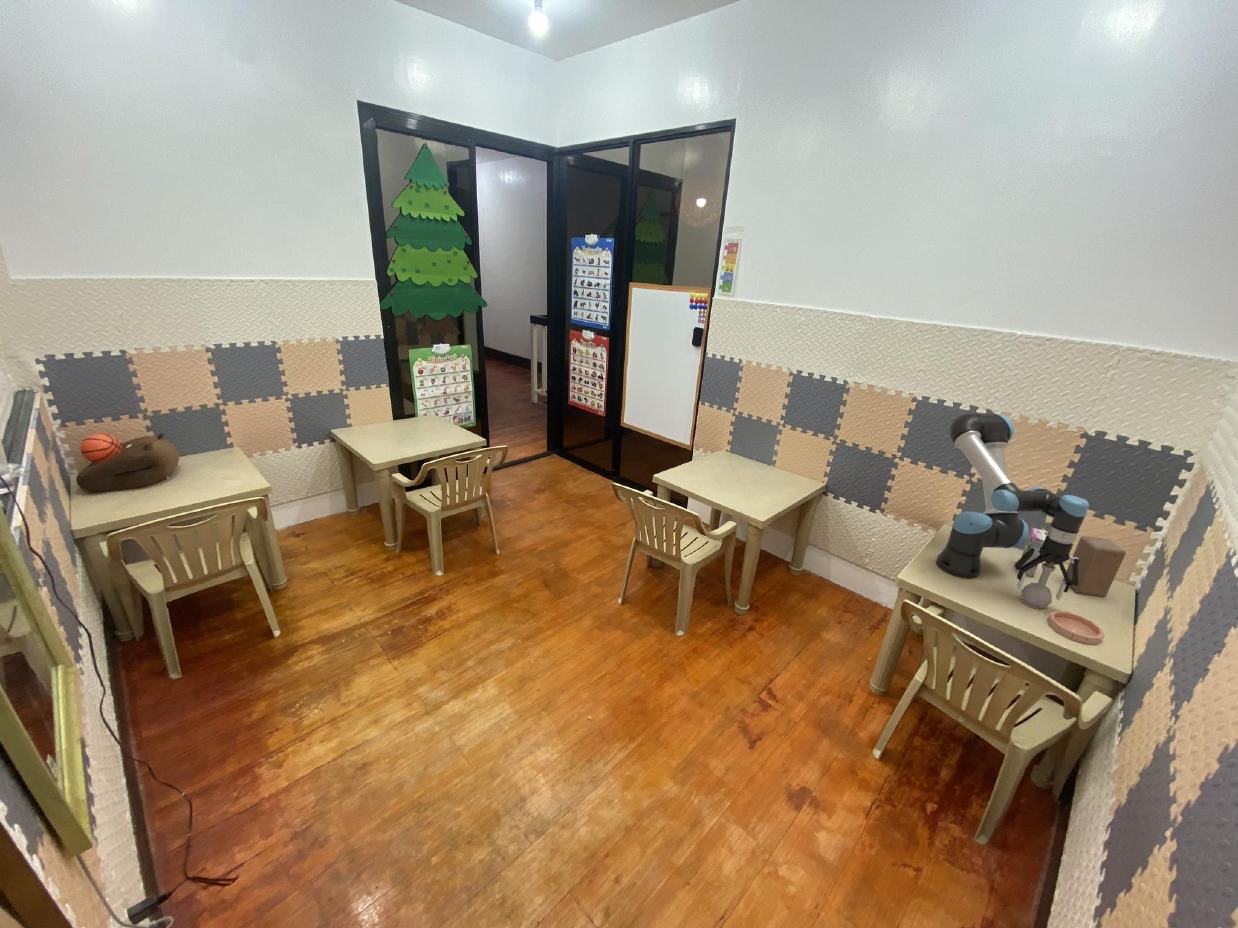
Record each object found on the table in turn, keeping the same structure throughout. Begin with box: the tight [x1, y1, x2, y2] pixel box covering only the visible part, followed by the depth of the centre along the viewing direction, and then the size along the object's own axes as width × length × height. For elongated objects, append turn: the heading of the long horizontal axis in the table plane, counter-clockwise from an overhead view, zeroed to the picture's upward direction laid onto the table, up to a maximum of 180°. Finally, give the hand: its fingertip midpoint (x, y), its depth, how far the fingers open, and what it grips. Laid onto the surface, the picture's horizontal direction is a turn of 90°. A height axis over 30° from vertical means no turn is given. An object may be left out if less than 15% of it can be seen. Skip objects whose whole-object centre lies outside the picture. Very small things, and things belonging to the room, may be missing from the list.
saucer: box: [1047, 610, 1106, 645], centre depth 176 cm, size 14×14×2 cm
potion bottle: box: [1020, 561, 1056, 610], centre depth 186 cm, size 9×9×18 cm
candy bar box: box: [1020, 527, 1048, 578], centre depth 208 cm, size 11×5×16 cm, turn 143°
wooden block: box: [1063, 535, 1127, 597], centre depth 197 cm, size 10×10×20 cm
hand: (1037, 592), depth 188 cm, fingers open, 11 cm apart
